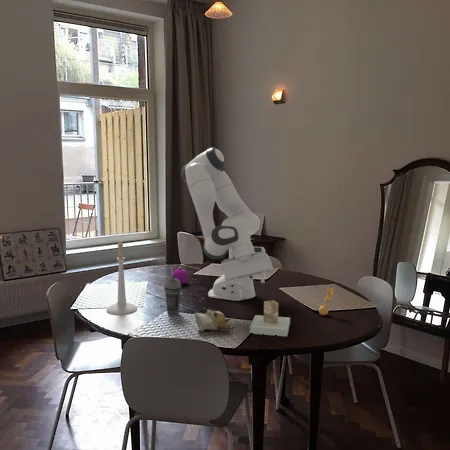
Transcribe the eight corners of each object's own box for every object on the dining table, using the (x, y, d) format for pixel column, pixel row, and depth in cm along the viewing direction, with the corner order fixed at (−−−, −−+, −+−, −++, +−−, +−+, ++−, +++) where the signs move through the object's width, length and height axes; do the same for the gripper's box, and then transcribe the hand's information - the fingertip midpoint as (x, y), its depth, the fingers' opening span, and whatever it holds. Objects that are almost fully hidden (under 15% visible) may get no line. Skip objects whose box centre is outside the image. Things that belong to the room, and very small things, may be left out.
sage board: (249, 333, 182) (249, 326, 182) (255, 321, 196) (255, 314, 196) (287, 336, 180) (287, 329, 179) (289, 323, 193) (290, 317, 193)
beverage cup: (168, 317, 199) (167, 270, 196) (161, 312, 205) (161, 266, 202) (184, 315, 202) (184, 268, 199) (177, 310, 209) (177, 264, 206)
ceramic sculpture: (193, 304, 189) (230, 304, 192) (191, 325, 190) (229, 325, 193) (197, 313, 178) (236, 313, 182) (195, 335, 180) (235, 335, 183)
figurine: (316, 311, 208) (317, 284, 206) (330, 311, 208) (331, 284, 206) (320, 318, 200) (321, 290, 198) (335, 318, 200) (336, 290, 198)
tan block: (268, 324, 185) (269, 304, 184) (263, 321, 188) (264, 301, 187) (277, 323, 186) (278, 303, 185) (272, 319, 190) (273, 300, 189)
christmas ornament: (183, 286, 245) (183, 267, 244) (169, 285, 248) (169, 266, 247) (190, 282, 253) (190, 264, 252) (176, 281, 256) (176, 262, 254)
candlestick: (118, 317, 200) (116, 245, 195) (100, 310, 208) (98, 241, 204) (143, 309, 209) (141, 241, 205) (125, 303, 217) (123, 237, 213)
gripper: (219, 258, 200) (226, 289, 195) (267, 246, 200) (275, 277, 194) (221, 262, 206) (228, 293, 200) (267, 251, 205) (276, 282, 200)
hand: (252, 285), depth 197 cm, fingers open, 8 cm apart
